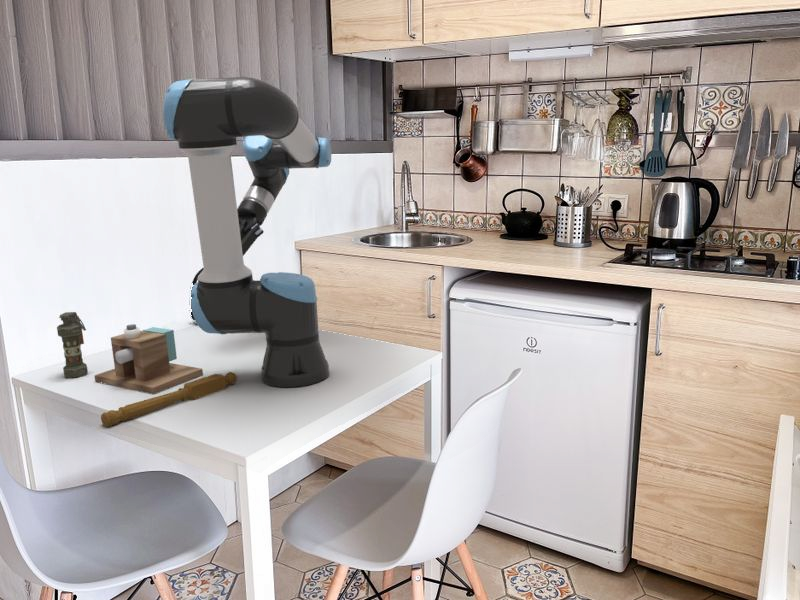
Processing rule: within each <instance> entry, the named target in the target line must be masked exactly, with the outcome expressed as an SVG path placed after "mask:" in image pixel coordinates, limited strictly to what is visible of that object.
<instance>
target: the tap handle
mask: <svg viewBox="0 0 800 600" xmlns="http://www.w3.org/2000/svg"><path fill="white" fill-rule="evenodd" d="M237 381H238V377H237V374H236V373H235V372H233V371H228V372H226V373H225V375H224V374H221V373H214V374H211V375H208V376H205V377H201V378H198V379H195V380H192V381H188V382H187V383H186V382H184V383H183V384H184V385H183V387H180V388H178V389H177V390H175V391H172V392H169V393H164V394H161V395H158V396H154V397H150V398H148V399H143V400H140V401H137V402H133V403H130V404H126V405H125V406H123V407H122V406H120V407H118V410H114V409H112V410H108V411H107V412H103V413H101V415H100V420H101V423H102V425H103V426H104V427H105V428H110V426H115V425H117V424H119V422H120V421H122V422H126V421H129V420H133V419H135V418H138V417H141V416H144V415H145V414H150V413H152V412H154V411H156V410H159V409H162V408H165V407H167V406H169V405H172V404H175V403H177V402H179V401H181V402H185V401H187V400H191V401H192V400H196V399H200V398H203V397H207V396H209V395H212V394H214V393H218V392H220V391H223V390H226V388H227V387H226V386H227V385H229V386H232V385H234V384H235V383H236V382H237Z"/></svg>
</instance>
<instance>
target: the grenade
mask: <svg viewBox="0 0 800 600" xmlns="http://www.w3.org/2000/svg"><path fill="white" fill-rule="evenodd" d="M58 318H59V319H60V321H62V324H59V325H57V327H56V330H57V336H58V337H61V340H62V349H63V355H64V358H65V365H64V366H63V368H62V370H63V371H62V372H63V376H64V378H67V377H68V379H73V378H72V377H76V378H80V377H79V376H81V377H83V375H84V376H86V375H87V374H88V365H87V363H85V362H84V360H83V354H82V353H83V352H82V349H81V348H82V347H81V346H82V345H83V344H85V341H84V336H83V331H85V332H86V331H87V328H86V327H85V324H84V323H83V321H82V319H81V318H80V317H79V315H78V313H77V312H76V311H70V312H69V311H68V312H67V311H66V312H63V313H61V314H60V315H59V317H58ZM85 374H86V375H85Z"/></svg>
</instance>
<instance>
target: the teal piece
mask: <svg viewBox="0 0 800 600" xmlns="http://www.w3.org/2000/svg"><path fill="white" fill-rule="evenodd" d="M142 331H146V332H153V333H160V334H166V340H167V348H168V357H169V363H171V362H173V361H175V360H178V357H177V350H176V349H177V348H176V341H175V332H174V329H169V328H163V327H155V326H152V327H148V328H145V329H143V330H142ZM115 358H116V361H117V362H118V363H120V364H122V363H125V362H128V361H131V360H133V352H132V347H130V348H127V349H124V350H121V351H117V352H116V353H115Z"/></svg>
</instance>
